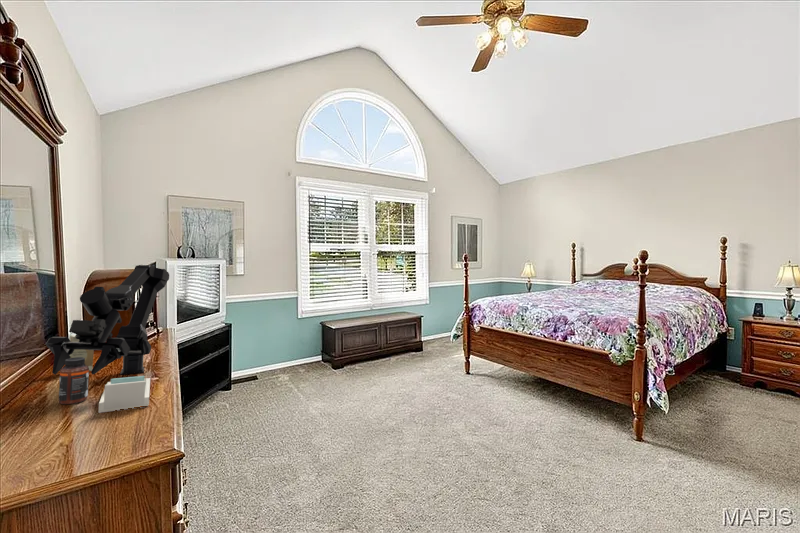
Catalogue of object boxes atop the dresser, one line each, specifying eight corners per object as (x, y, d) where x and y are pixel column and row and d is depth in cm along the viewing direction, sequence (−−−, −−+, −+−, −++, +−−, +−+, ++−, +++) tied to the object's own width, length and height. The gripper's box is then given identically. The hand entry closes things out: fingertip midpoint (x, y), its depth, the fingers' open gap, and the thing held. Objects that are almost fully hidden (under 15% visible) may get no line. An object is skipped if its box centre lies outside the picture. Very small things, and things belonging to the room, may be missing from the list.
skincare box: (69, 374, 125) (71, 336, 125) (65, 371, 128) (67, 335, 128) (93, 370, 130) (95, 334, 130) (89, 368, 133) (91, 333, 133)
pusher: (110, 395, 104) (111, 378, 105) (143, 391, 109) (144, 375, 109) (109, 398, 102) (110, 381, 102) (143, 394, 106) (144, 378, 106)
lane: (107, 390, 111) (108, 367, 111) (149, 385, 116) (151, 364, 117) (98, 412, 94) (99, 386, 95) (148, 406, 100) (149, 381, 100)
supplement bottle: (93, 398, 104) (95, 356, 104) (72, 406, 98) (75, 362, 98) (73, 396, 105) (75, 355, 105) (51, 404, 99) (54, 360, 99)
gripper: (52, 307, 105) (16, 356, 94) (126, 309, 108) (99, 357, 97) (71, 331, 113) (39, 379, 102) (139, 332, 116) (116, 379, 104)
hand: (73, 373), depth 101 cm, fingers open, 9 cm apart
